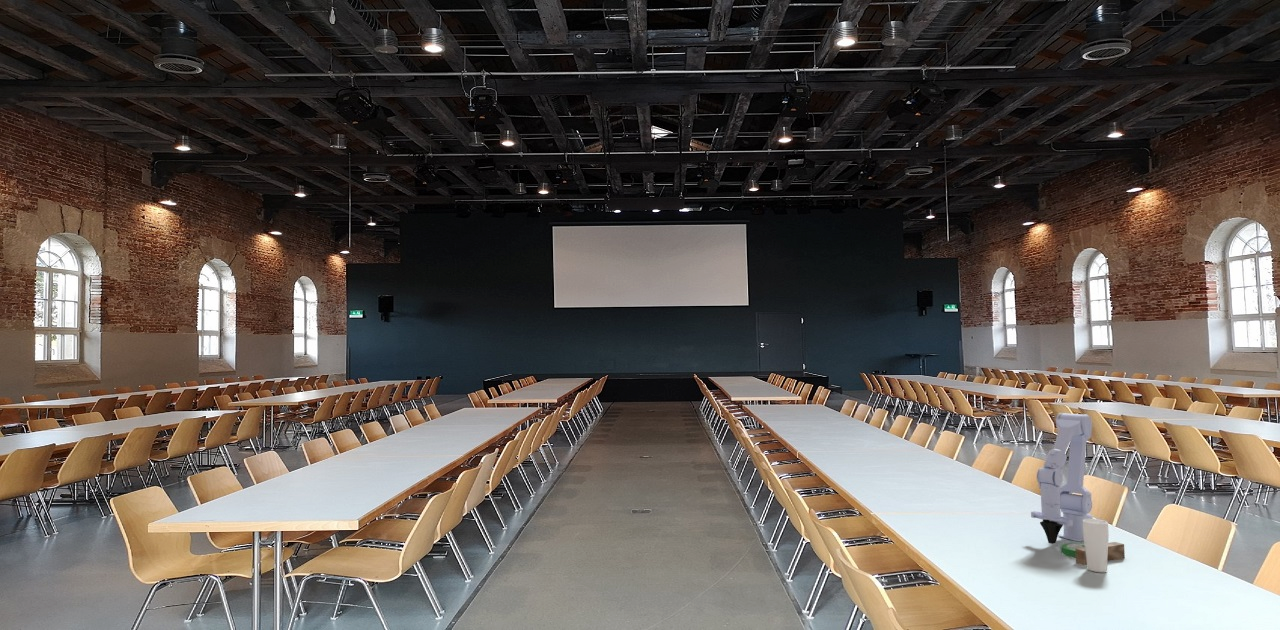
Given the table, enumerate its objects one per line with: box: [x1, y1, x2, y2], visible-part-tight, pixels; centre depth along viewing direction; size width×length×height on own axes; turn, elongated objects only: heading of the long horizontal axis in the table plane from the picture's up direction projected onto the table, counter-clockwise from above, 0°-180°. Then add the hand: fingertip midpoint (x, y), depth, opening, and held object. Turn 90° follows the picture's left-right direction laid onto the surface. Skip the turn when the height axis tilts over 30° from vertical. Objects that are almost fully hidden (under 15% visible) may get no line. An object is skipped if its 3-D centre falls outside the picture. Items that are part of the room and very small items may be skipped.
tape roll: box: [1060, 542, 1085, 559], centre depth 239 cm, size 11×11×3 cm
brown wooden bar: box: [1075, 541, 1126, 566], centre depth 232 cm, size 18×3×4 cm, turn 110°
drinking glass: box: [1083, 518, 1110, 573], centre depth 223 cm, size 7×7×15 cm
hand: (1052, 542), depth 248 cm, fingers closed
